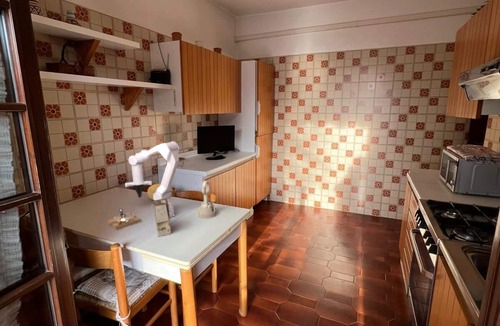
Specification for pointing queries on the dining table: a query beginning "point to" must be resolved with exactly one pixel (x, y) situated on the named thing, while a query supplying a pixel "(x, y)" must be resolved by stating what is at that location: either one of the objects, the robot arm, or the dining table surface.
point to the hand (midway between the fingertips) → (140, 197)
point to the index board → (124, 224)
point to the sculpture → (152, 190)
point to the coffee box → (162, 217)
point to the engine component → (206, 203)
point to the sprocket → (123, 217)
